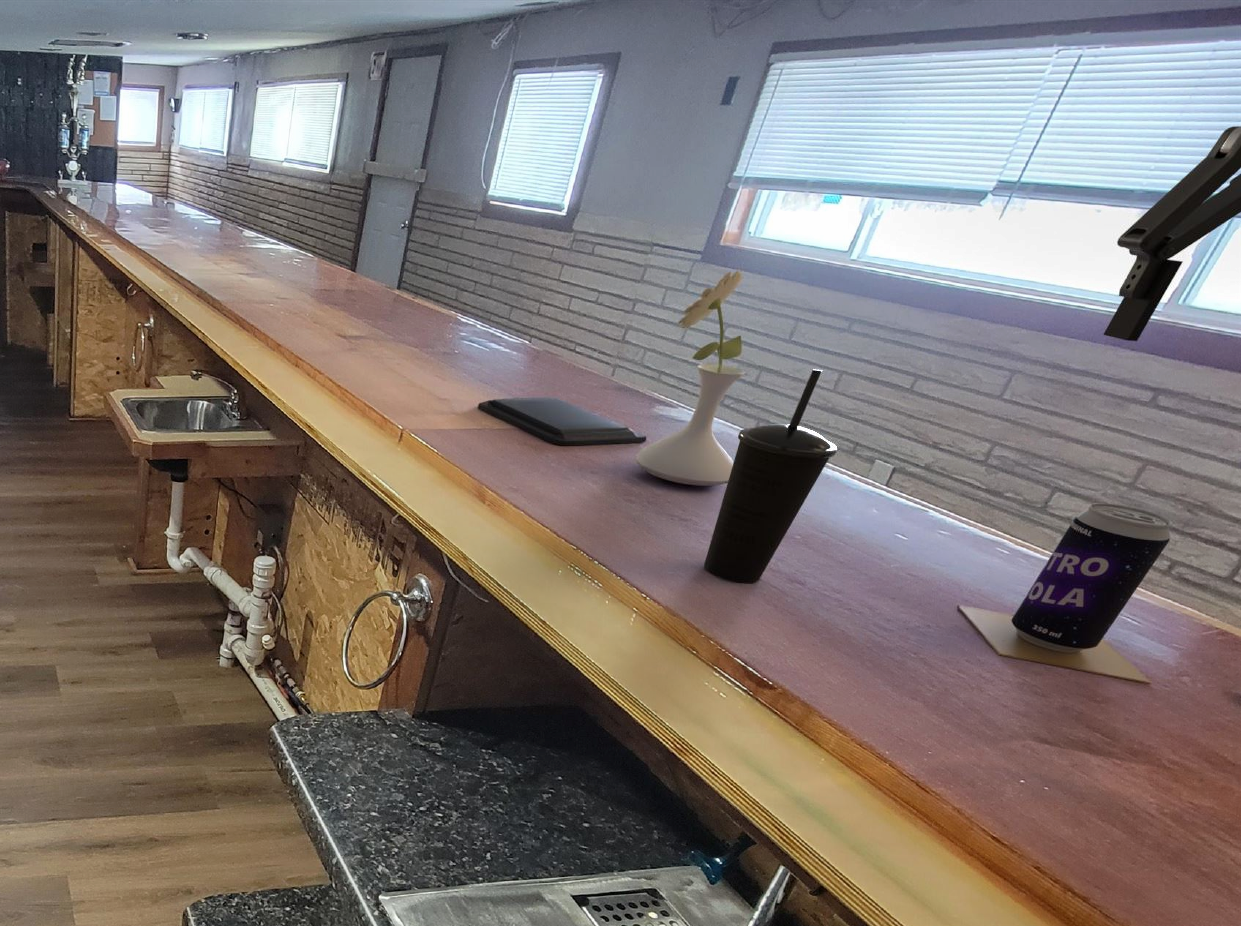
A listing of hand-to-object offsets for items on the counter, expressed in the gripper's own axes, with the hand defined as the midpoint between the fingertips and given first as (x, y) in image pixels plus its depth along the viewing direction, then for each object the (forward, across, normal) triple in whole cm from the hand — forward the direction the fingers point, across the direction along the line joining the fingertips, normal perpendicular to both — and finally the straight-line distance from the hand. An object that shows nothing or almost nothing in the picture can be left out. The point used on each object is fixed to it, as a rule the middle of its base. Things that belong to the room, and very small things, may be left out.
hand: (1207, 343), depth 78 cm
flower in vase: (+23, +28, -23) cm, 44 cm away
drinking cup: (+23, +34, +6) cm, 41 cm away
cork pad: (+24, +11, +15) cm, 30 cm away
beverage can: (+24, +11, +15) cm, 30 cm away
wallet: (+23, +38, -45) cm, 63 cm away
